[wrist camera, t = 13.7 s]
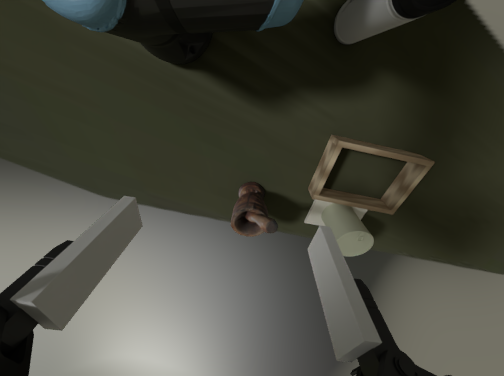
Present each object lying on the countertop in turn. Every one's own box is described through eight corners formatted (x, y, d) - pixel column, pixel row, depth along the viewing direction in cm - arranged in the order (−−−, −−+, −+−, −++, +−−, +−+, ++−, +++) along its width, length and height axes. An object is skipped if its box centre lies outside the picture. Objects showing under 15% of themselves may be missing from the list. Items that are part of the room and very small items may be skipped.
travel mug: (374, 31, 32) (502, -22, 15) (337, 51, 34) (414, 25, 17) (369, -13, 29) (519, -139, 12) (329, 12, 31) (412, -69, 14)
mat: (317, 193, 51) (318, 194, 50) (370, 203, 52) (371, 204, 51) (304, 221, 56) (304, 222, 56) (351, 230, 57) (352, 231, 57)
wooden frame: (331, 134, 42) (339, 140, 38) (418, 153, 44) (435, 162, 39) (307, 188, 50) (312, 198, 46) (382, 203, 52) (392, 214, 47)
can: (359, 205, 52) (383, 236, 41) (343, 228, 56) (362, 261, 46) (329, 198, 51) (346, 229, 41) (316, 222, 56) (328, 254, 45)
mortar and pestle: (246, 165, 47) (238, 214, 30) (276, 176, 49) (284, 229, 32) (233, 198, 53) (220, 255, 36) (260, 207, 54) (260, 266, 37)
